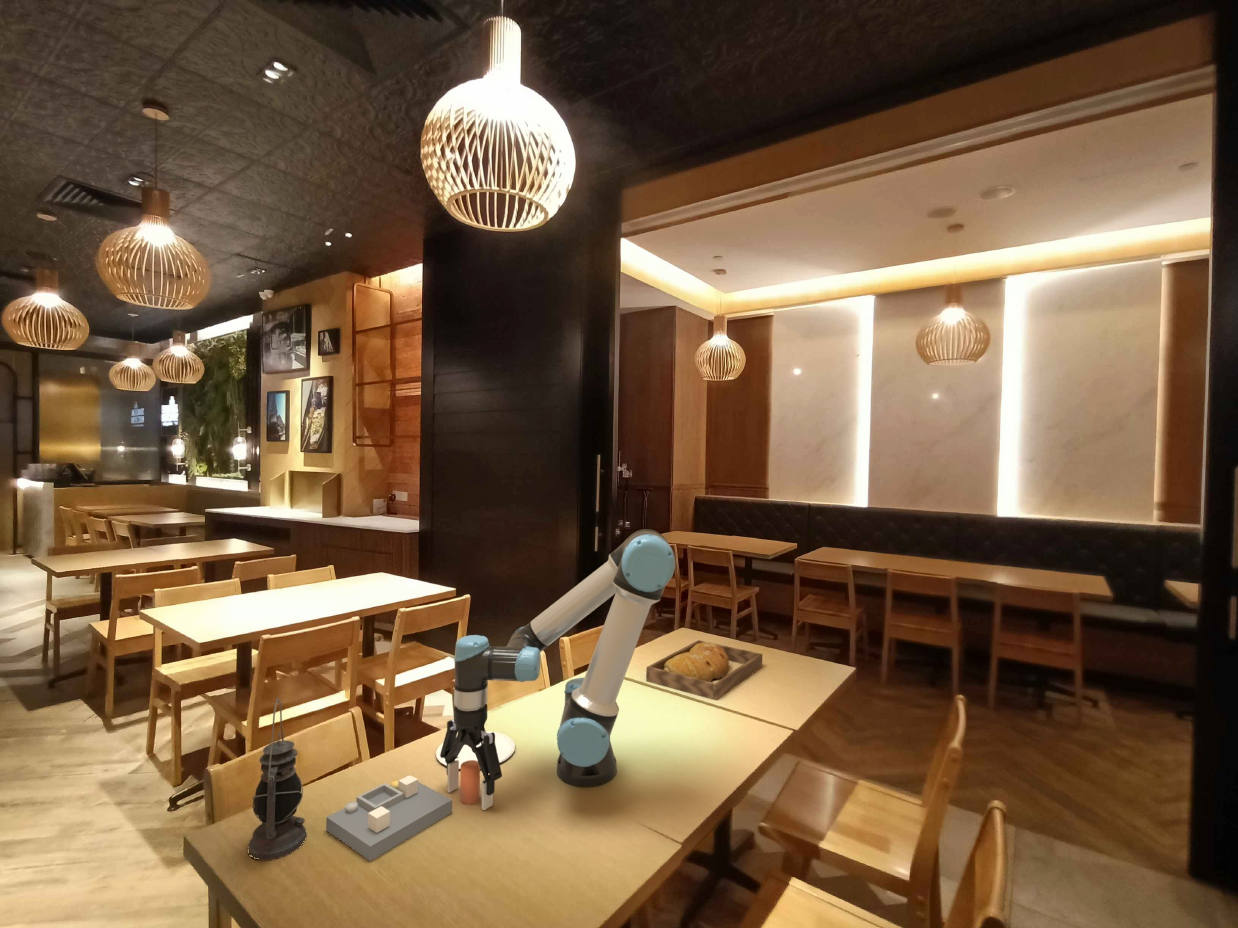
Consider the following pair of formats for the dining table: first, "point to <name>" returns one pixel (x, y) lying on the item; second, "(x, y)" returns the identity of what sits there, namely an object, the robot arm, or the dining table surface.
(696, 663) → the bread
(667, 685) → the bread tray
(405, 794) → the toggle
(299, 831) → the lantern
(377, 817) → the toggle
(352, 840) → the grey flat block
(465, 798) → the cap
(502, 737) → the plate
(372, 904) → the dining table surface
